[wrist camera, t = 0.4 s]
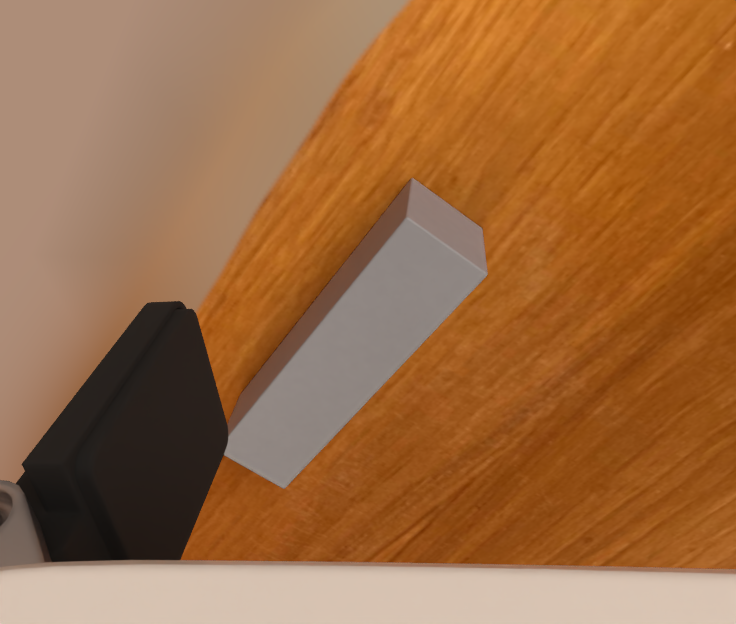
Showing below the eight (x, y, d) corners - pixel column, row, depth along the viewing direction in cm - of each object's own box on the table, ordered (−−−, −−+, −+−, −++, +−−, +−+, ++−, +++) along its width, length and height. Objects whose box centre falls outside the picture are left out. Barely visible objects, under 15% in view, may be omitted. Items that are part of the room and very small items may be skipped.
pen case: (412, 176, 26) (406, 216, 22) (483, 228, 26) (488, 274, 23) (239, 394, 32) (215, 451, 29) (301, 430, 33) (284, 490, 30)
